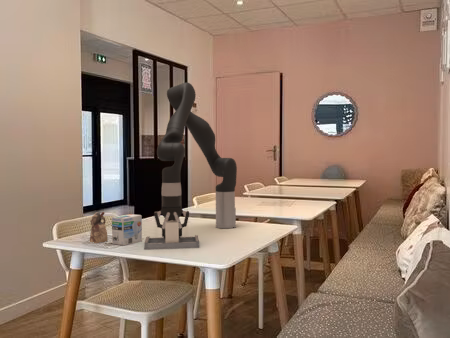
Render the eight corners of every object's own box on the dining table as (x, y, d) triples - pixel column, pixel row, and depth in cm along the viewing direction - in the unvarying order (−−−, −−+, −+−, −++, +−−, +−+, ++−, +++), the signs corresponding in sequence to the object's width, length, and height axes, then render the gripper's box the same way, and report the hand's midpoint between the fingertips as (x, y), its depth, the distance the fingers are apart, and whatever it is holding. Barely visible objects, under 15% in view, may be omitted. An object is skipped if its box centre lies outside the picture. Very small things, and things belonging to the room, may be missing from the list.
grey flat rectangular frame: (197, 241, 176) (197, 235, 175) (199, 247, 164) (199, 241, 164) (146, 242, 173) (146, 236, 173) (144, 249, 162) (144, 242, 161)
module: (178, 239, 173) (178, 219, 172) (178, 243, 165) (178, 222, 165) (165, 239, 172) (165, 219, 172) (165, 244, 164) (165, 223, 164)
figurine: (88, 240, 179) (87, 211, 179) (106, 239, 182) (105, 210, 181) (90, 243, 173) (89, 213, 172) (108, 242, 175) (108, 212, 175)
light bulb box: (123, 245, 168) (123, 218, 168) (111, 244, 172) (110, 217, 171) (142, 241, 177) (142, 214, 177) (130, 239, 181) (130, 213, 180)
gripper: (189, 193, 172) (190, 235, 173) (153, 193, 171) (153, 236, 171) (190, 194, 165) (190, 239, 166) (152, 195, 163) (152, 240, 164)
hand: (172, 237), depth 168 cm, fingers closed on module, 5 cm apart
